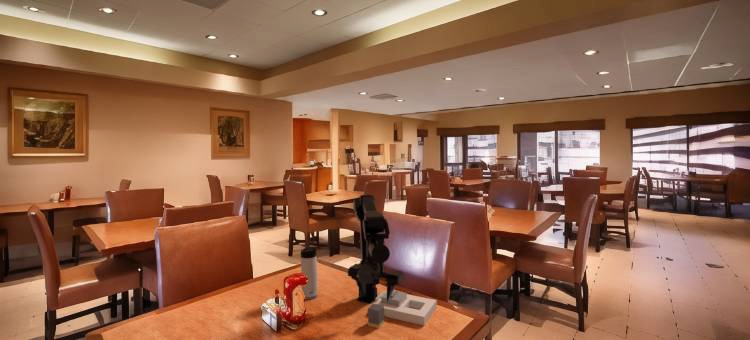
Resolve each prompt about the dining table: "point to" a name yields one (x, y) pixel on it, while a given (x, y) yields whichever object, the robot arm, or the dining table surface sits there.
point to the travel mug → (309, 272)
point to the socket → (410, 309)
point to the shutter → (394, 298)
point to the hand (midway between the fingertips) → (375, 298)
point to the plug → (376, 315)
